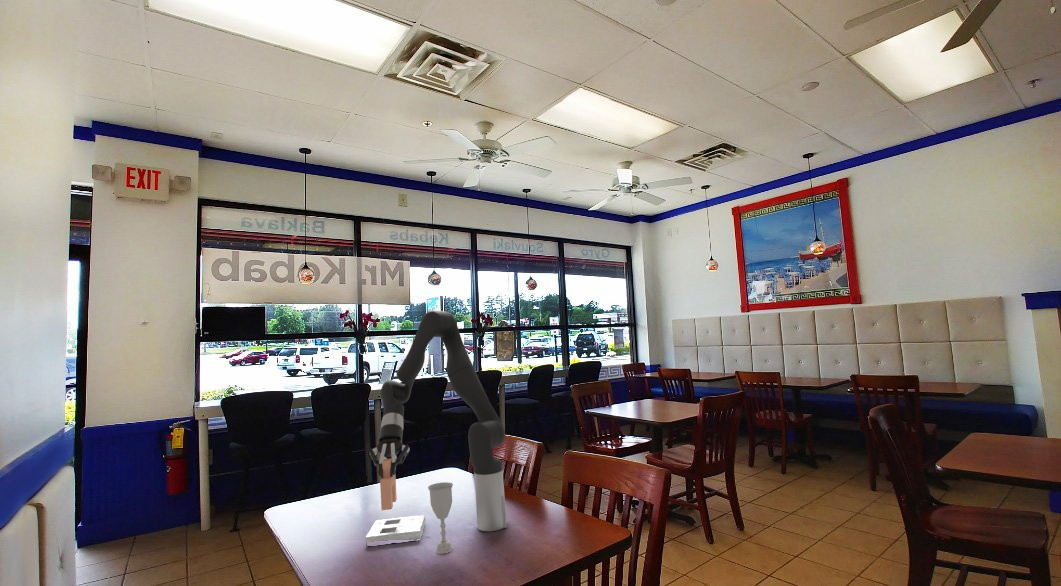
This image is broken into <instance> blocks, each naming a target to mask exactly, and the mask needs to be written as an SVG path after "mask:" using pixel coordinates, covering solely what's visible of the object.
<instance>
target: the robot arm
mask: <svg viewBox="0 0 1061 586" xmlns="http://www.w3.org/2000/svg"><path fill="white" fill-rule="evenodd" d="M434 338H440V339H441V340H442V342H443V344H444V347H445V349H446V353H447V355H446V356H447V357H446V358H447V359H446V374H447V377H448V379H449V382H450V384H451V387H452V390H454V393H456V395H457V396H458V397H459V398H461V400H462V401H464V403H466V404H467V405H468V406H469V407H470V408H471V409H472V410H473V413H474V414H475V416H476V418H477V420H478V421H477V422H474V423H473V424H471V425H470V427H469V429H468V436H467V438H468V439H467V440H468V449H469V450H468V451H469V457H470V462H471V465H472V467H473V475H474V490H475V491H474V492H475V506H476V507H475V508H476V523H477V529H478V530H480V532H481V531H482V532H495V531H500V530H502V529H507V528H508V523H507V511H506V509H507V508H506V497H505V487H504V474H503V463H502V460H501V459H499V458H495V457H494V456H493V455H494V454H493V449H494V448H496V447H499V446H501V445H502V444H503V443H504V441H505V438H506V432H505V428H504V426H503V422H501V420H500V417H499V416H498V414H497V412H496V410H495V408H494V407H493V406H492V404H491V402H490V399H489V397H488V396H487V394H486V391H485V389H484V388H483V385H482V383H481V380H480V379H479V375H478V374H477V371H476V369H475V367H474V364H473V363H472V361H471V359H470V356H469V353H468V352H467V349H466V347H465V345H464V342H463V340H462V336H461V334H460V330H459V327H458V323H457V321H456V318H454V315H453V314H451V312H449V311H446V310H445V311H443V310H429V311H427V312H426V313H425V314H424V315H423V317H422V318H421V321H420V322H419V326H418V328H417V331H416V334H415V335H414V339H413V340H412V343H411V346H410V349H408V350H409V351H408V353H407V354H406V356H405V358H404V359H403V361H402V363H401V364H400V365H399V368H398V370H397V372H396V378H397V379H398V380H399V381H396V380H392V379H388V380H386V381H385V382H384V383H383V384H382V386H381V388H380V389H381V390H380V396H381V401H382V407H383V412H382V413H383V414H382V418H381V419H382V420H381V424H380V429H379V430H380V431H379V438H378V443H377V444H376V447H374V448H371V447H370V448H369V449H368V453H369V456H370V458H371V460H372V462H373V464H374V467H376V468H377V467H378V470H377V471H378V472H377V473H378V476H379V477H380V479H382V478H383V467H382V461H383V460H384V459H389V458H392V463H391V467H390V476H391V477H393V475H396V471H397V466H398V465H402V464H403V463H404V461H405V459H406V458H407V457H408V455H409V453H410V451H411V450H410V446H409V444H406V445H405V444H403V433H404V417H405V416H404V414H405V406H404V404H405V403H407V402H408V401H409V399H410V398H411V393H412V388H413V385H414V383H415V381H416V379H417V378H418V375H419V374H420V372H421V370H423V369H422V368H423V367H424V364H425V359H426V351H427V348H428V345H429V344H430V343H431V341H432V340H433V339H434ZM400 451H401V452H400ZM378 453H379V455H380V456H379V460H378V458H377V456H376V455H377V454H378ZM399 453H400V454H399ZM398 454H399V456H398V457H397V455H398Z"/></svg>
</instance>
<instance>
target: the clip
mask: <svg viewBox="0 0 1061 586" xmlns="http://www.w3.org/2000/svg"><path fill="white" fill-rule="evenodd" d="M391 463H392V457H390V458H387V459H384V460H383V461H382V467H383V478H380V480H379V484H380V485H379V486H380V507H381V511H386V510H387V511H389V510H392V509H393V508H394V504H393V503H396V502H397V500H398V499H397V495H398V494H397V478H396V475H397V474H395V475H393V477H391V476H390V467H391Z"/></svg>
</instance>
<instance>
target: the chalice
mask: <svg viewBox="0 0 1061 586" xmlns="http://www.w3.org/2000/svg"><path fill="white" fill-rule="evenodd" d="M453 485H454V484H453V483H452V482H444V481H443V482H437V483H432V484H430V485H429V486H428V487H427V490H429V500H430V501H429V502H430V507H431V509H432V512H433V513H434V514H435V517H436V518H437V519H438V520H440V526H439V527H440V528H441V531H440V533H439V534H440V535H441V539H440V541H438V542H437V546H436V550H435V551H436V552H438V553H446V554H449V553H451V552H453V550H454V547H453V546H452V544H451V541H450V540H449V539H447V538H446V534H447V531H446V523H445V520H446V519H447V518H448V517H449V515H450V514H449V513H450V511H451V507H452V504H453V491H452V488H453ZM452 549H453V550H452ZM450 551H451V552H450ZM436 552H435V553H436ZM448 552H449V553H448Z"/></svg>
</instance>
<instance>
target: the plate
mask: <svg viewBox="0 0 1061 586" xmlns="http://www.w3.org/2000/svg"><path fill="white" fill-rule="evenodd" d="M425 522H426V515H425V514H420V515H411V516H404V517H395V518H394V517H393V518H386V519H385V518H384V519H377V520H375V521H374V523H373V525H372V526H371V527H370V529H369V531H368V533H367V534H366V536H365V543H366V542H374V541H388V540H412V539H413V540H417V539H420V538H421V539H422V537H421V535H422V536H423V534H422V532H423V533H424V531H423V529H424V530H425V528H424V525H425V526H426V524H425Z"/></svg>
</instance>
